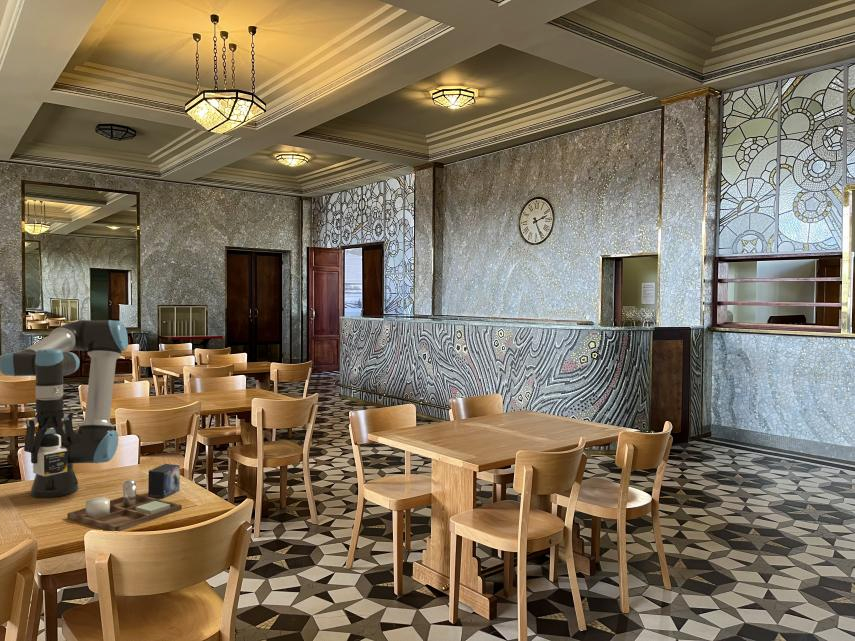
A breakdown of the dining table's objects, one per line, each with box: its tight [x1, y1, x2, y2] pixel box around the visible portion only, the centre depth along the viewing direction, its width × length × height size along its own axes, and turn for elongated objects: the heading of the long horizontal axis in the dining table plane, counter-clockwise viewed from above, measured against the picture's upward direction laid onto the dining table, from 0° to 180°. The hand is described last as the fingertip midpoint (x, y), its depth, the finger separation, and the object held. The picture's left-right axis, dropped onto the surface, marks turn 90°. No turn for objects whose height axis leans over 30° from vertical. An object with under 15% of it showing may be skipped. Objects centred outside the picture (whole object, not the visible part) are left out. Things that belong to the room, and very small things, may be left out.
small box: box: [147, 463, 181, 500], centre depth 238 cm, size 11×6×10 cm, turn 168°
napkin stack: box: [136, 501, 170, 515], centre depth 219 cm, size 8×8×2 cm
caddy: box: [67, 493, 183, 532], centre depth 217 cm, size 24×24×2 cm
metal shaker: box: [122, 479, 137, 508], centre depth 224 cm, size 4×4×9 cm
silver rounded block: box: [85, 496, 111, 519], centre depth 214 cm, size 7×7×5 cm
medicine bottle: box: [32, 434, 67, 476], centre depth 207 cm, size 7×7×12 cm
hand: (50, 470), depth 207 cm, fingers closed on medicine bottle, 7 cm apart
